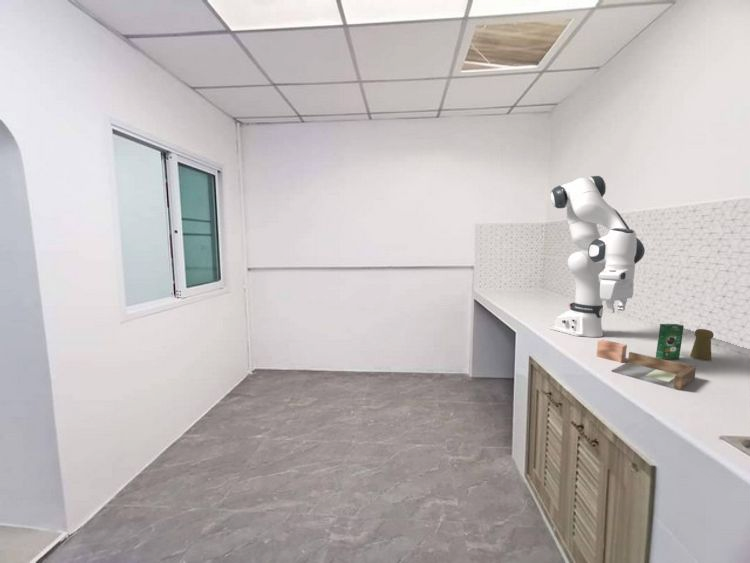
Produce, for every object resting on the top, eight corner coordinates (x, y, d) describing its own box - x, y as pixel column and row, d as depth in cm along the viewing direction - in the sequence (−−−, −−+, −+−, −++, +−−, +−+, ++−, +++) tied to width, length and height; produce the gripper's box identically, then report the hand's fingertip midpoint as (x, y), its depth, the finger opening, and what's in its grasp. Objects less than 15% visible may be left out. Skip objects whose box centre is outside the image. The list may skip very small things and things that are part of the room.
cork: (692, 358, 133) (696, 330, 131) (687, 354, 138) (691, 326, 137) (714, 361, 130) (718, 332, 128) (708, 357, 135) (712, 329, 134)
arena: (611, 371, 117) (612, 359, 117) (629, 362, 126) (630, 351, 126) (680, 390, 103) (681, 377, 103) (694, 379, 112) (696, 366, 112)
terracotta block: (596, 356, 133) (598, 341, 132) (600, 354, 135) (602, 339, 134) (620, 362, 126) (622, 346, 126) (625, 360, 129) (626, 344, 128)
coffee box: (672, 356, 135) (676, 323, 133) (680, 359, 132) (684, 324, 130) (654, 357, 133) (659, 323, 131) (662, 360, 130) (666, 325, 129)
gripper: (620, 272, 136) (617, 307, 137) (597, 274, 124) (594, 312, 125) (640, 273, 131) (636, 310, 132) (617, 275, 119) (614, 315, 120)
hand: (615, 311), depth 128 cm, fingers open, 8 cm apart
